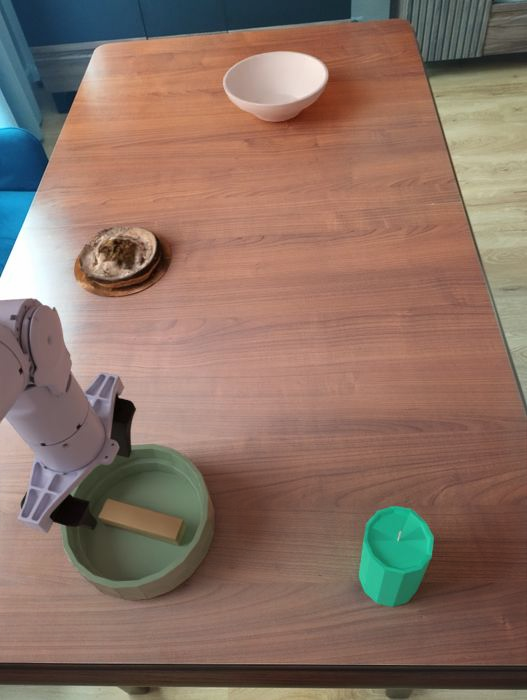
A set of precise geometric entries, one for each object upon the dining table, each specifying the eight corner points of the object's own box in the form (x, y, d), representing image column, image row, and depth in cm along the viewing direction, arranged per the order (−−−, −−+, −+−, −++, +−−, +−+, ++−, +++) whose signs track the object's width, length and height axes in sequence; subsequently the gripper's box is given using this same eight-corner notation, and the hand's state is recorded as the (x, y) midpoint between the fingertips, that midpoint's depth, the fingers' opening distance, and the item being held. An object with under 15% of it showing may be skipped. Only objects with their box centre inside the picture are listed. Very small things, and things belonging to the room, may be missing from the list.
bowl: (207, 119, 113) (201, 85, 108) (271, 75, 121) (269, 42, 116) (284, 152, 104) (282, 117, 99) (348, 102, 113) (350, 67, 107)
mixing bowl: (184, 620, 58) (174, 607, 54) (51, 577, 61) (32, 562, 57) (234, 481, 66) (228, 461, 62) (114, 452, 70) (102, 431, 66)
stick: (179, 546, 62) (175, 539, 60) (104, 524, 64) (97, 517, 62) (187, 527, 63) (183, 519, 61) (113, 506, 65) (107, 498, 63)
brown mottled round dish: (187, 241, 92) (182, 220, 89) (138, 308, 84) (130, 288, 81) (110, 221, 97) (102, 201, 93) (56, 283, 89) (46, 263, 85)
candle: (382, 619, 56) (393, 582, 47) (346, 565, 60) (350, 520, 50) (432, 585, 58) (452, 543, 48) (394, 534, 61) (406, 486, 52)
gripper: (51, 512, 41) (108, 571, 52) (136, 352, 49) (170, 432, 60) (-33, 488, 43) (39, 550, 53) (63, 337, 51) (109, 418, 62)
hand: (104, 487), depth 57 cm, fingers open, 7 cm apart
